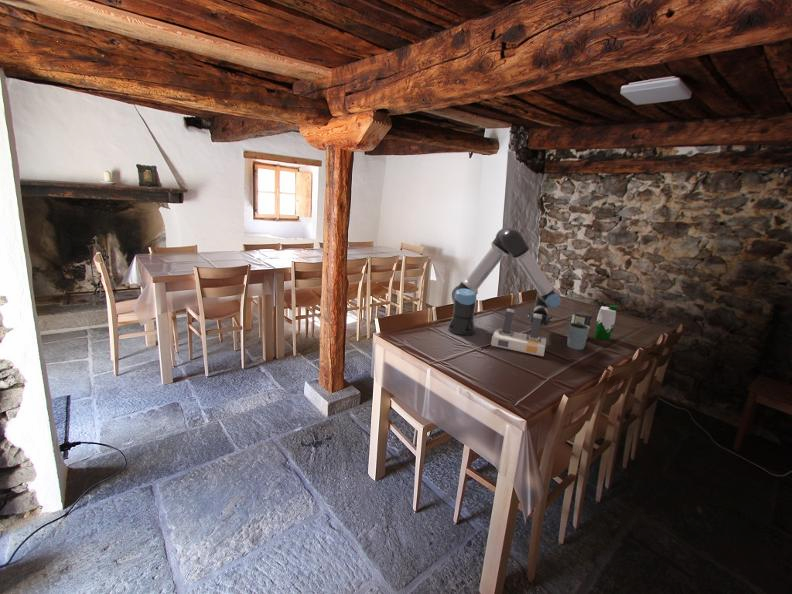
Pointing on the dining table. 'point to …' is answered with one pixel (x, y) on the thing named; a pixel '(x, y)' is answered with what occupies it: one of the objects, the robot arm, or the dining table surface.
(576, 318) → the coffee can
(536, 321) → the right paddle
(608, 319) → the milk carton
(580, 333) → the drinking glass
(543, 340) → the console
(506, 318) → the left paddle
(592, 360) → the dining table surface
